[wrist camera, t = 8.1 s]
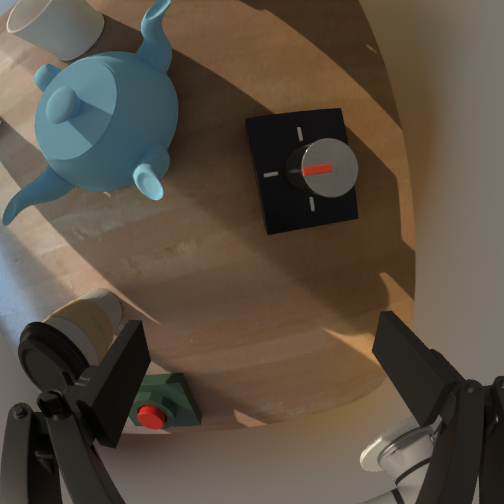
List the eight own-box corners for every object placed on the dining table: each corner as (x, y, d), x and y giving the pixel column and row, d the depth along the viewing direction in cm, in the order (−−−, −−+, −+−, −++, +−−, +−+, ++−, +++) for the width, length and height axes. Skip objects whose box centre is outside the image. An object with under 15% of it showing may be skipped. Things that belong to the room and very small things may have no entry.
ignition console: (202, 415, 39) (199, 433, 35) (138, 417, 39) (132, 433, 36) (182, 372, 36) (177, 391, 33) (113, 376, 37) (105, 392, 33)
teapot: (198, 188, 30) (172, 199, 18) (62, 207, 29) (-2, 227, 18) (192, 48, 25) (170, -8, 13) (59, 84, 25) (1, 63, 13)
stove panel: (348, 214, 31) (359, 219, 28) (265, 229, 31) (267, 235, 28) (332, 113, 28) (341, 107, 25) (245, 123, 28) (245, 118, 25)
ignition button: (169, 421, 35) (167, 429, 33) (146, 421, 35) (144, 429, 33) (159, 404, 34) (157, 413, 32) (136, 404, 34) (133, 412, 32)
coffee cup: (147, 322, 34) (105, 401, 20) (102, 344, 35) (56, 413, 20) (107, 262, 32) (38, 318, 17) (65, 291, 32) (1, 346, 18)
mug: (45, 29, 21) (1, 4, 10) (89, -7, 20) (53, -43, 9) (63, 72, 24) (8, 48, 13) (113, 31, 23) (70, -10, 12)
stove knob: (322, 144, 26) (354, 135, 18) (330, 186, 27) (364, 193, 19) (280, 150, 26) (297, 141, 18) (288, 193, 27) (308, 202, 19)
